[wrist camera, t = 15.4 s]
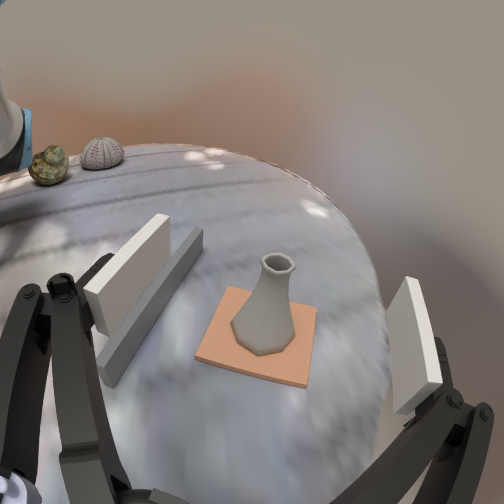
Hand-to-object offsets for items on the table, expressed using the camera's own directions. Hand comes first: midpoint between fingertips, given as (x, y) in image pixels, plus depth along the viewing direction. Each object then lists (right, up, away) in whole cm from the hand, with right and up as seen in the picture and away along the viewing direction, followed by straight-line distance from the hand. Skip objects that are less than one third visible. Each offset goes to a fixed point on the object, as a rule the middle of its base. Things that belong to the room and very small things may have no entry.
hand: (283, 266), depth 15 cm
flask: (0, -8, +18) cm, 20 cm away
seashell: (-54, +19, +47) cm, 74 cm away
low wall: (-13, -6, +20) cm, 25 cm away
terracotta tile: (0, -9, +19) cm, 21 cm away
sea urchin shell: (-44, +25, +59) cm, 78 cm away
